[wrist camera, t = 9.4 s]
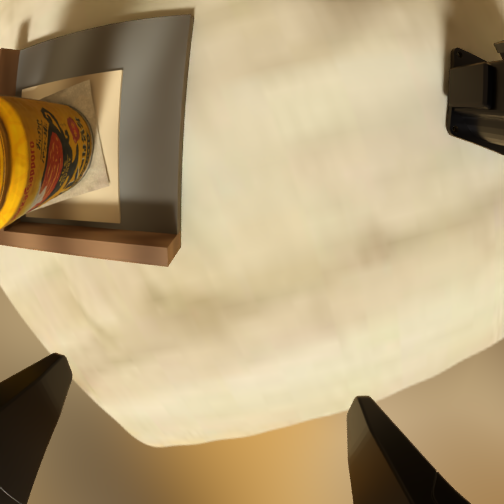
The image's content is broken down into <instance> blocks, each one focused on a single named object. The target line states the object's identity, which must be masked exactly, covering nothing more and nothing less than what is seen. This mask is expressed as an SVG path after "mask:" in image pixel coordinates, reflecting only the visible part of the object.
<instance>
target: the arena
mask: <svg viewBox="0 0 504 504" xmlns="http://www.w3.org/2000/svg"><path fill="white" fill-rule="evenodd" d="M193 22H194V18H193V17H192V15H176V16H165V17H156V18H147V19H140V20H133V21H127V22H121V23H115V24H110V25H105V26H101V27H96V28H92V29H87V30H83V31H79V32H75V33H72V34H68V35H65V36H61V37H58V38H55V39H51V40H48V41H45V42H42V43H39V44H36V45H33V46H31V47H28V48H25V49H23V50H13V49H4V48H1V49H0V95H7V96H17V97H23V98H30V99H36V100H40V99H42V98H44V97H47V96H49V95H52V94H54V93H56V92H58V91H61V90H64V89H66V88H69V87H71V86H73V85H76V84H79V83H81V82H84V81H87V80H90V87H91V94H92V102H93V105H94V111H95V117H96V122H97V128H98V133H99V138H100V143H101V148H102V154H103V159H104V164H105V167H106V173H107V177H108V182H109V186H108V187H104V188H101V189H98V190H94V191H91V192H88V193H84V194H81V195H78V196H75V197H72V198H69V199H66V200H62V201H60V202H57V203H54V204H51V205H48V206H45V207H43V208H40V209H36V210H34V211H31V212H29V213H26V214H24V215H23V216H21V217H20V218H18V219H16V220H15V221H14V222H12V223H11V224H9V225H7V226H6V227H4V228H3V229H1V230H0V245H5V246H12V247H19V248H26V249H33V250H40V251H47V252H54V253H61V254H69V255H76V256H84V257H92V258H100V259H108V260H116V261H124V262H132V263H140V264H149V265H158V266H166V267H168V266H169V264H170V263H171V261H172V260H173V258H174V257H175V255H176V254H177V252H178V251H179V249H180V248H181V178H182V151H183V131H184V114H185V100H186V88H187V76H188V66H189V56H190V46H191V38H192V29H193Z"/></svg>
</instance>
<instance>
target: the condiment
mask: <svg viewBox="0 0 504 504" xmlns="http://www.w3.org/2000/svg"><path fill="white" fill-rule="evenodd" d="M108 186H109V182H108V177H107V173H106V167H105V164H104V159H103V154H102V148H101V143H100V138H99V133H98V128H97V122H96V117H95V111H94V105H93V102H92V94H91V87H90V80H87V81H84V82H81V83H79V84H76V85H73V86H71V87H69V88H66V89H64V90H61V91H58V92H56V93H54V94H52V95H49V96H47V97H44V98H42V99H40V100H36V99H30V98H23V97H17V96H7V95H0V230H1V229H3V228H4V227H6V226H7V225H9V224H11V223H12V222H14V221H15V220H16V219H18V218H20V217H21V216H23V215H24V214H26V213H29V212H31V211H34V210H36V209H40V208H43V207H45V206H48V205H51V204H54V203H57V202H60V201H62V200H66V199H69V198H72V197H75V196H78V195H81V194H84V193H88V192H91V191H94V190H98V189H101V188H104V187H108Z"/></svg>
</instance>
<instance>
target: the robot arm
mask: <svg viewBox="0 0 504 504" xmlns="http://www.w3.org/2000/svg"><path fill="white" fill-rule="evenodd" d="M494 46H495V48H496V50H497V52H498V53H500V55H501V57H502V59H503V60H499V61H492V62H486V61H485V60H483V59H481V58H479V57H477V56H475V55H473V54H471V53H469V52H467V51H464V50H462V49H460V48H455V49H452V51H451V69H450V77H449V95H448V103H449V110H448V120H447V131H448V133H449V135H451V136H453V137H456V138H459V139H462V140H465V141H468V142H471V143H473V144H476V145H479V146H481V147H484V148H487V149H489V150H492V151H494V152H497V153H499V154H501V155H504V40H503V41H500V42H497V43H494ZM457 53H458V54H459V56H460V57H458V55H457ZM453 126H454V127H455V132H453ZM71 381H72V371H71V369H70V366H69V363H68V361H67V358H66V357H65V356H64V355H61V354H58V353H53V354H51V355H49V356H47V357H45V358H43V359H42V360H40V361H38V362H36V363H35V364H33V365H31V366H29V367H27V368H26V369H24V370H22V371H20V372H18V373H16V374H15V375H13V376H11V377H9V378H8V379H6V380H4V381H2V382H0V504H27V502H28V499H29V496H30V492H31V489H32V486H33V484H34V481H35V478H36V475H37V472H38V470H39V467H40V464H41V461H42V459H43V456H44V453H45V451H46V448H47V446H48V444H49V441H50V439H51V436H52V434H53V431H54V429H55V427H56V424H57V422H58V419H59V417H60V414H61V411H62V408H63V405H64V402H65V399H66V396H67V393H68V390H69V387H70V384H71ZM347 438H348V439H347V442H348V465H349V473H350V479H351V487H352V495H353V504H471V503H470V502H468V501H467V500H466V499H465V498H464V497H463V496H461V495H460V494H459V493H458V492H457V491H456V490H455V489H454V488H453V487H452V486H451V485H450V484H449V483H448V482H447V481H446V480H445V479H444V478H443V477H442V476H441V475H440V474H439V472H436V469H435V468H434V467H433V466H432V465H431V464H430V463H429V461H428V460H427V459H426V458H425V457H424V456H423V455H422V454H421V453H420V452H419V451H418V449H417V448H416V447H415V446H414V445H413V444H412V443H411V442H410V440H409V439H408V438H407V437H406V436H405V435H404V434H403V433H402V432H401V431H400V429H399V428H398V427H397V426H396V425H395V424H394V423H393V422H392V420H391V419H390V418H389V417H388V416H387V415H386V414H385V413H384V412H383V410H382V409H381V408H380V407H379V406H378V405H377V404H376V403H375V401H374V400H373V399H372V398H371V397H369V396H357V397H355V399H354V401H353V403H352V405H351V407H350V409H349V411H348V413H347Z"/></svg>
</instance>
